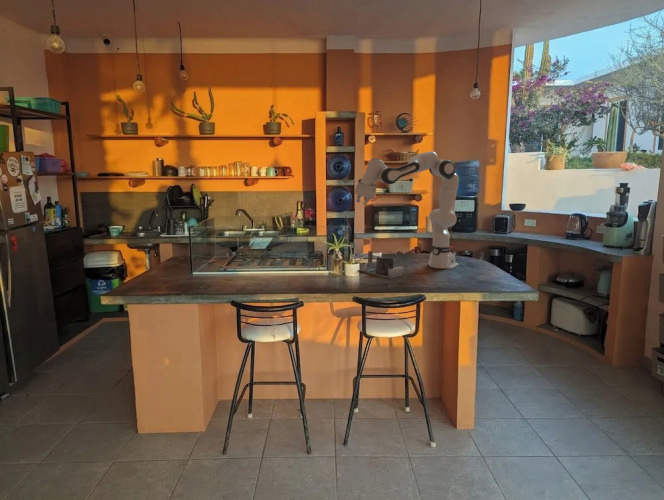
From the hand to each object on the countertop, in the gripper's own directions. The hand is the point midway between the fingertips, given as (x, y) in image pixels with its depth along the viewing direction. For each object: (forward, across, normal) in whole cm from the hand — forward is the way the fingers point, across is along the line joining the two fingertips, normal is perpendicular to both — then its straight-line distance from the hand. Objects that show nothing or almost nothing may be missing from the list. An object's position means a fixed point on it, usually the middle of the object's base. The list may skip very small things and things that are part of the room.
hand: (361, 203), depth 285 cm
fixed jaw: (+37, -16, -22) cm, 46 cm away
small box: (+37, -19, -23) cm, 48 cm away
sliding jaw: (+39, -8, -20) cm, 44 cm away
